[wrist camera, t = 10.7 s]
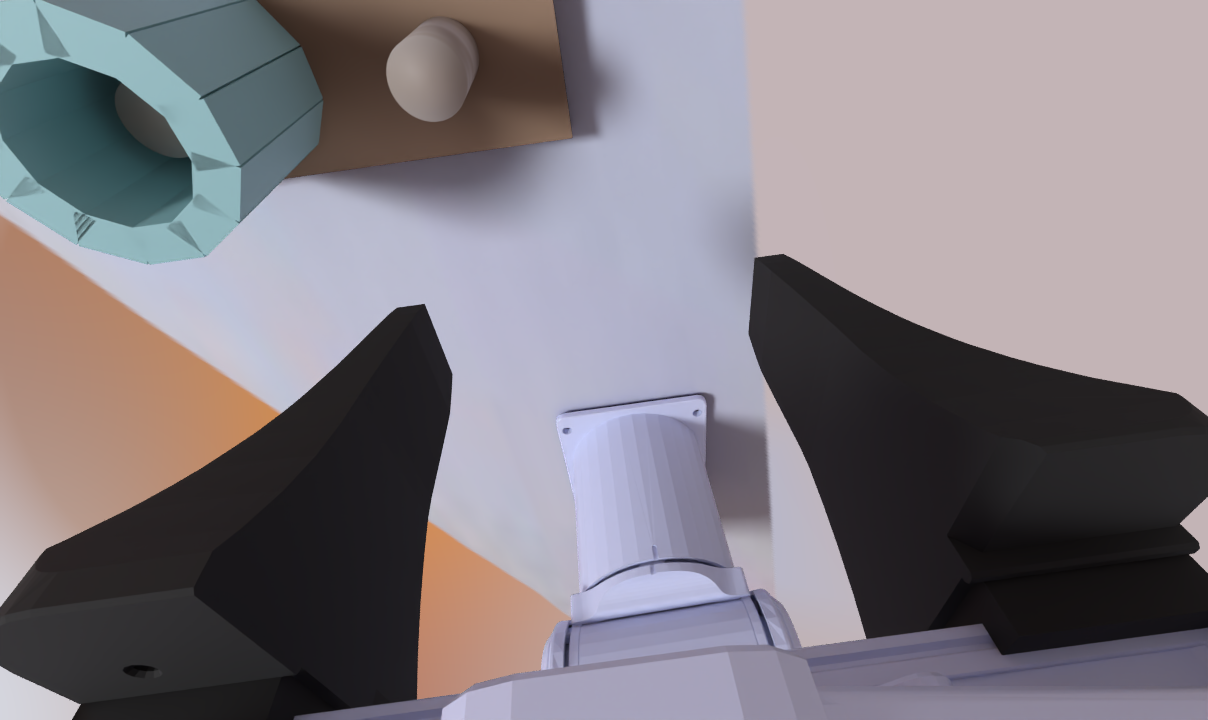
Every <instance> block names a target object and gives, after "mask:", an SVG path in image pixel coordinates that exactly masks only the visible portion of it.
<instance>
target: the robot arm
mask: <svg viewBox="0 0 1208 720" xmlns="http://www.w3.org/2000/svg"><path fill="white" fill-rule="evenodd" d="M749 336H750V340H751V343H752V346H753V349H754V352H755V355H756V358H757V361H758V363H759V366H760V369H761V371H762V373H763V375H764V377H765V380H766V382H767V383H768V385H769V387H770V389H771V391H772V393H773V395H774V397H775V399H776V401H777V403H778V405H779V407H780V409H781V411H782V413H783V415H784V417H785V419H786V420H787V423H788V424H789V426H790V428H791V430H792V432H793V434H794V436H795V438H796V440H797V442H798V444H799V446H800V448H801V450H802V452H803V454H804V457H805V459H806V461H807V463H808V465H809V468H810V470H811V473H812V476H813V478H814V481H815V484H816V486H817V489H818V492H819V494H820V497H821V500H822V502H823V505H824V508H825V511H826V513H827V516H828V519H829V522H830V525H831V528H832V530H833V533H834V536H835V539H836V542H837V545H838V548H839V551H840V554H841V557H842V560H843V563H844V567H845V569H846V573H847V576H848V579H849V582H850V585H851V588H852V591H853V594H854V598H855V601H856V605H857V608H858V611H859V615H860V618H861V622H862V625H863V628H864V632H865V635H866V639H864V640H856V641H849V642H841V643H834V644H826V645H819V646H812V647H804V648H802V647H801V644H800V641H799V638H798V636H797V633H796V631H795V628H794V626H793V624H792V621H791V619H790V617H789V615H788V613H787V611H786V609H785V608H784V606H783V605H782V604H781V603H780V602H779V601H777V600H776V599H775V598H773V597H772V596H771V595H770V594H769V593H768V592H767V591H766V590H764V589H757V590H753V591H749V589H748V586H747V582H746V579H745V576H744V572H743V569H742V568H741V567H734V565H733V561H732V558H731V554H730V551H729V547H728V544H727V541H726V537H725V534H724V530H723V527H722V523H721V520H720V516H719V513H718V509H717V506H716V503H715V499H714V496H713V492H712V489H711V485H710V482H709V478H708V475H707V471H706V468H705V462H706V416H707V404H706V400H705V398H704V397H703V396H701V395H693V396H686V397H679V398H671V399H664V400H657V401H650V402H642V403H635V404H628V405H621V406H613V407H606V408H599V409H592V410H584V411H577V412H570V413H563V414H560V415H559V416H558V417H557V418H556V426H557V430H558V434H559V438H560V442H561V446H562V450H563V454H564V458H565V462H566V467H567V471H568V475H569V479H570V483H571V487H572V491H573V495H574V499H575V508H576V528H577V548H578V569H579V589H580V593H577V594H573V595H571V620H569V621H561V622H559V623H557V624H556V626H555V628H554V630H553V633H552V634H551V636H550V637H549V639H548V640H547V642H546V644H545V647H544V651H543V657H542V664H541V670H540V671H532V672H525V673H517V674H513V675H509V676H504V677H500V678H496V679H492V680H488V681H484V682H481V683H476V684H474V685H473V686H471V687H470V688H468V689H467V690H465V691H464V692H463V693H461V694H456V695H448V696H440V697H433V698H425V699H418V700H417V668H418V638H419V619H420V601H421V588H422V575H423V562H424V552H425V542H426V533H427V522H428V515H429V509H430V503H431V498H432V493H433V489H434V484H435V480H436V475H437V471H438V466H439V462H440V457H441V453H442V448H443V444H444V439H445V434H446V430H447V425H448V420H449V415H450V406H451V393H452V372H451V369H450V367H449V364H448V362H447V359H446V357H445V354H444V352H443V349H442V347H441V344H440V342H439V339H438V337H437V334H436V331H435V329H434V326H433V324H432V321H431V319H430V316H429V314H428V311H427V309H426V306H425V304H421V305H414V306H407V307H399V308H396V309H395V310H394V311H393V312H391V313H390V314H389V315H388V316H387V317H386V318H385V319H384V320H383V321H382V322H381V323H380V324H379V325H378V326H377V327H375V328H374V329H373V330H372V331H371V332H370V333H369V334H368V335H367V336H366V337H365V338H364V339H363V340H362V341H361V342H360V343H359V344H358V345H357V346H356V347H355V348H354V349H353V350H352V351H351V352H350V353H349V354H348V355H347V356H346V357H345V358H344V359H343V360H342V361H341V362H340V363H339V364H338V365H337V366H336V367H335V368H334V369H332V370H331V371H330V372H329V373H328V374H327V375H326V376H325V377H324V378H322V379H321V380H320V381H319V382H318V383H317V384H316V385H315V386H313V387H312V388H311V389H310V390H309V391H308V392H307V393H306V394H305V395H303V396H302V397H301V398H300V399H299V400H297V401H296V402H295V403H294V404H293V405H291V406H290V407H289V408H288V409H286V410H285V411H284V412H283V413H281V414H280V415H279V416H277V417H276V418H275V419H274V420H272V421H271V422H269V423H268V424H267V425H266V426H264V427H263V428H261V429H260V430H259V431H257V432H256V433H254V434H253V435H252V436H250V437H249V438H247V439H246V440H244V441H242V442H241V443H239V444H238V445H237V446H235V447H233V448H232V449H231V450H229V451H227V452H226V453H224V454H223V455H221V456H220V457H218V458H217V459H215V460H214V461H212V462H211V463H209V464H207V465H206V466H204V467H203V468H201V469H199V470H198V471H196V472H194V473H193V474H191V475H189V476H187V477H186V478H184V479H183V480H181V481H179V482H177V483H176V484H174V485H172V486H170V487H168V488H167V489H165V490H163V491H161V492H159V493H158V494H156V495H154V496H152V497H150V498H148V499H147V500H145V501H143V502H141V503H139V504H137V505H136V506H133V507H132V508H130V509H128V510H126V511H124V512H122V513H120V514H118V515H116V516H114V517H112V518H110V519H108V520H106V521H103V522H102V523H99V524H97V525H95V526H93V527H92V528H89V529H87V530H85V531H83V532H81V533H79V534H77V535H75V536H73V537H71V538H69V539H67V540H65V541H62V542H61V543H58V544H56V545H54V546H52V547H49V548H47V549H46V550H45V551H44V552H43V553H42V554H41V555H40V557H39V558H38V559H37V561H36V562H35V563H34V564H33V566H32V567H31V568H30V570H29V571H28V572H27V574H26V575H25V576H24V577H23V579H22V580H21V581H20V583H19V584H18V586H17V587H16V588H15V589H14V591H13V592H12V593H11V594H10V596H9V597H8V598H7V599H6V601H5V602H4V603H3V605H2V606H1V607H0V666H1V667H3V668H5V669H7V670H8V671H10V672H12V673H13V674H16V675H18V676H20V677H22V678H24V679H26V680H29V681H31V682H33V683H35V684H37V685H40V686H42V687H44V688H46V689H49V690H51V691H53V692H55V693H57V694H59V695H61V696H64V697H66V698H68V699H70V700H72V701H74V702H76V703H79V704H81V705H80V707H79V709H78V710H77V712H76V714H75V716H74V717H73V719H72V720H1208V573H1207V572H1206V571H1205V570H1204V569H1203V568H1202V567H1201V566H1200V565H1199V564H1198V563H1197V562H1196V561H1195V560H1194V559H1193V558H1192V557H1191V556H1189V554H1193V553H1195V552H1197V551H1198V550H1199V549H1200V546H1199V542H1198V541H1197V540H1196V539H1195V538H1194V537H1193V536H1192V535H1191V534H1190V533H1189V532H1188V531H1187V530H1186V529H1185V528H1184V527H1183V526H1182V525H1180V523H1181V522H1182V521H1183V520H1184V519H1185V518H1186V517H1187V516H1188V515H1189V514H1190V513H1191V512H1192V511H1193V510H1194V509H1195V508H1196V507H1197V506H1198V505H1199V504H1200V503H1202V502H1203V501H1204V500H1205V499H1206V497H1208V416H1207V415H1205V414H1204V413H1203V412H1201V411H1200V410H1199V409H1197V408H1196V407H1195V406H1194V405H1192V404H1191V403H1190V402H1188V401H1187V400H1186V399H1185V398H1183V397H1182V396H1180V395H1179V394H1177V393H1172V392H1167V391H1161V390H1156V389H1150V388H1145V387H1139V386H1134V385H1129V384H1123V383H1117V382H1113V381H1107V380H1102V379H1096V378H1092V377H1087V376H1082V375H1078V374H1074V373H1070V372H1066V371H1062V370H1057V369H1053V368H1049V367H1045V366H1040V365H1036V364H1033V363H1030V362H1026V361H1022V360H1018V359H1015V358H1011V357H1008V356H1005V355H1002V354H998V353H995V352H992V351H989V350H986V349H982V348H979V347H976V346H973V345H970V344H967V343H964V342H961V341H958V340H956V339H953V338H950V337H947V336H945V335H942V334H940V333H937V332H935V331H932V330H930V329H927V328H925V327H922V326H920V325H917V324H915V323H912V322H910V321H908V320H906V319H904V318H901V317H899V316H897V315H895V314H893V313H891V312H889V311H887V310H885V309H883V308H880V307H879V306H876V305H874V304H873V303H871V302H868V301H867V300H865V299H863V298H861V297H859V296H857V295H856V294H853V293H852V292H850V291H848V290H846V289H845V288H843V287H841V286H839V285H837V284H836V283H834V282H832V281H830V280H829V279H827V278H825V277H824V276H822V275H820V274H819V273H817V272H815V271H813V270H812V269H810V268H808V267H806V266H805V265H803V264H801V263H800V262H798V261H796V260H794V259H792V258H790V257H788V256H786V255H784V254H779V255H772V256H765V257H758V258H755V261H754V273H753V285H752V297H751V309H750V321H749ZM695 410H698V411H695ZM565 428H569V429H565Z"/></svg>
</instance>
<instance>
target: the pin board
mask: <svg viewBox="0 0 1208 720" xmlns="http://www.w3.org/2000/svg"><path fill="white" fill-rule="evenodd" d="M257 1H258V3H259V4H260V5H261V6H262V7H263V8H264V9H265V10H266V11H267V12H268V13H269V14H270V15H271V16H272V17H273V18H274V19H275V20H276V21H277V22H278V23H279V24H280V25H281V26H282V27H283V28H284V29H285V30H286V31H287V32H288V33H289V34H290V35H291V36H292V37H293V38H294V39H295V40H296V41H297V42H298V43H299V44H300V46H299V47H302V49H303V51H304V54H305V56H306V58H307V61H308V63H309V66H310V68H311V70H312V73H313V75H314V78H315V80H316V82H317V85H318V87H319V90H320V92H321V94H322V97H323V99H322V100H323V109H322V118H321V128H320V137H319V143H318V145H317V146H316V147H315V148H314V149H313V150H312V151H311V152H310V153H309V154H308V155H307V156H306V157H305V158H304V159H303V160H302V161H301V162H300V163H299V164H298V165H297V166H296V167H295V168H294V169H293V170H292V171H291V172H290V173H289V174H288V175H287V176H286V177H285V178H284V179H286V178H293V177H300V176H307V175H314V174H321V173H329V172H336V171H343V170H350V169H357V168H364V167H371V166H378V165H385V164H392V163H399V162H406V161H413V160H421V159H428V158H435V157H442V156H449V155H456V154H463V153H470V152H477V151H484V150H491V149H498V148H505V147H513V146H520V145H527V144H534V143H541V142H548V141H555V140H562V139H569V138H572V129H571V122H570V115H569V108H568V102H567V95H566V88H565V81H564V74H563V67H562V60H561V53H560V46H559V39H558V32H557V25H556V18H555V11H554V4H553V0H257ZM115 107H116V111H117V114H118V116H119V118H120V120H121V122H122V123H123V125H124V126H125V128H126V129H127V130H128V131H129V132H130V134H131V135H132V136H133V137H134V138H135V139H137V140H138V141H139V142H140V143H141V144H143V145H144V146H146V147H147V148H149V149H151V150H152V151H155V152H157V153H159V154H162V155H165V156H168V157H174V158H185V157H189V156H188V154H187V153H186V151H185V150H184V148H183V146H182V145H181V143H180V141H179V140H178V138H177V136H176V135H175V133H174V131H173V130H172V128H171V127H170V125H169V123H168V122H167V120H166V118H165V117H164V116H163V115H161V114H160V113H159V112H158V111H156V110H155V109H154V108H153V107H151V106H150V105H149V104H148V103H146V102H145V101H144V100H143V99H142V98H140V97H139V96H138V95H137V94H135V93H134V92H133V91H132V90H130V89H129V88H128V87H127V86H125V85H124V84H123V83H121V84H120V85H119V86H118V88H117V90H116V93H115Z"/></svg>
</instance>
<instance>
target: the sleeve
mask: <svg viewBox="0 0 1208 720" xmlns="http://www.w3.org/2000/svg"><path fill="white" fill-rule="evenodd" d="M299 46H300V44H299V43H298V42H297V41H296V40H295V39H294V38H293V37H292V36H291V35H290V34H289V33H288V32H287V31H286V30H285V29H284V28H283V27H282V26H281V25H280V24H279V23H278V22H277V21H276V20H275V19H274V18H273V17H272V16H271V15H270V14H269V13H268V12H267V11H266V10H265V9H264V8H263V7H262V6H261V5H260V4H259V3H258V1H257V0H3V1H0V196H1V197H2V198H3V199H7V198H8V199H7V201H6V202H8V203H10V204H11V205H13V206H14V207H16V208H18V209H19V210H21V211H23V212H24V213H26V214H27V215H29V216H31V217H32V218H34V219H35V220H37V221H39V222H40V223H42V224H43V225H45V226H47V227H48V228H50V229H52V230H53V231H55V232H56V233H58V234H60V235H61V236H63V237H64V238H66V239H68V240H69V241H71V242H72V243H74V244H76V245H77V244H78V243H79V246H81V247H84V248H88V249H92V250H96V251H99V252H103V253H107V254H110V255H114V256H118V257H122V258H125V259H129V260H133V261H137V262H140V263H144V264H148V263H149V264H150V265H151V264H158V263H165V262H172V261H179V260H186V259H194V258H201V257H205V256H207V255H208V254H209V253H210V252H211V251H212V250H213V249H214V248H215V247H216V246H217V245H218V244H219V243H220V242H221V241H222V240H223V239H224V238H225V237H226V236H227V235H228V234H229V233H230V232H231V231H232V230H233V229H234V228H235V227H236V226H237V225H238V224H239V223H240V222H241V221H242V220H243V219H244V218H245V217H246V216H247V215H248V214H249V213H250V212H251V211H252V210H253V209H254V208H255V207H256V206H257V205H258V204H259V203H260V202H261V201H262V200H263V199H264V198H265V197H266V196H267V195H268V194H269V193H270V192H271V191H272V190H273V189H274V188H275V187H276V186H277V185H278V184H279V183H280V182H281V181H282V180H283V179H284V178H285V177H286V176H287V175H288V174H289V173H290V172H291V171H292V170H293V169H294V168H295V167H296V166H297V165H298V164H299V163H300V162H301V161H302V160H303V159H304V158H305V157H306V156H307V155H308V154H309V153H310V152H311V151H312V150H313V149H314V148H315V147H316V146H317V145H318V143H319V137H320V128H321V118H322V109H323V100H322V99H323V97H322V94H321V92H320V90H319V87H318V85H317V82H316V80H315V78H314V75H313V73H312V70H311V68H310V66H309V63H308V61H307V58H306V56H305V54H304V51H303V49H302V47H299ZM121 83H123V84H124V85H125V86H127V87H128V88H129V89H130V90H132V91H133V92H134V93H135V94H137V95H138V96H139V97H140V98H142V99H143V100H144V101H145V102H146V103H148V104H149V105H150V106H151V107H153V108H154V109H155V110H156V111H158V112H159V113H160V114H161V115H163V116H164V117H165V118H166V120H167V122H168V123H169V125H170V127H171V128H172V130H173V131H174V133H175V135H176V136H177V138H178V140H179V141H180V143H181V145H182V146H183V148H184V150H185V151H186V153H187V154H188V156H189V157H185V158H174V157H168V156H165V155H162V154H159V153H157V152H155V151H152V150H151V149H149V148H147V147H146V146H144V145H143V144H141V143H140V142H139V141H138V140H137V139H135V138H134V137H133V136H132V135H131V134H130V132H129V131H128V130H127V129H126V128H125V126H124V125H123V123H122V122H121V120H120V118H119V116H118V114H117V111H116V107H115V93H116V90H117V88H118V86H119V85H120V84H121Z"/></svg>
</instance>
